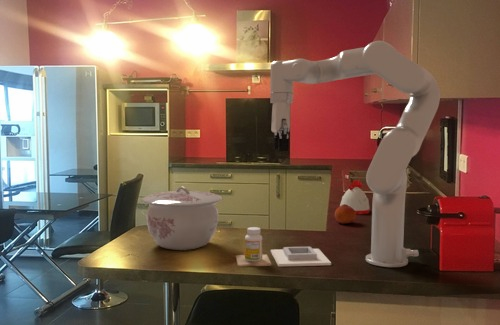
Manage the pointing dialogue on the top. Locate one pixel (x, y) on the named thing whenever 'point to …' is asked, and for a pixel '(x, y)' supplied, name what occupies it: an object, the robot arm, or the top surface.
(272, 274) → the top surface
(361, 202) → the white knit beanie
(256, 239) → the supplement bottle
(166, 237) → the chamber pot
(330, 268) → the top surface
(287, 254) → the socket block
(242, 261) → the cork trivet
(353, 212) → the fruit
